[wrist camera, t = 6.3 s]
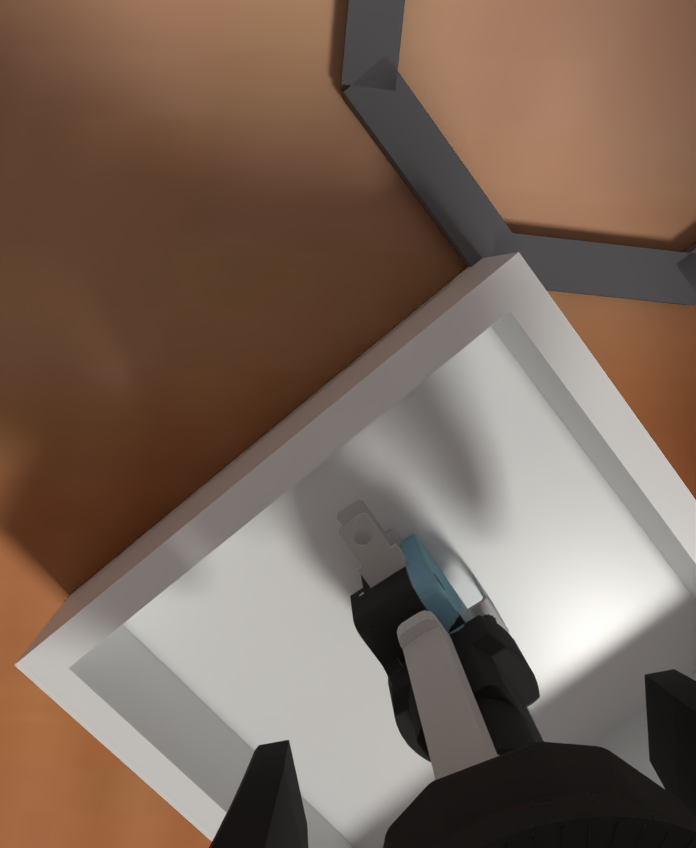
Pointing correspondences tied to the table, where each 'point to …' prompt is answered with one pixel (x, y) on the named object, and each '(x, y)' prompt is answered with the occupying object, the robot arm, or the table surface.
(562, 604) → the tray
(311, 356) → the table surface
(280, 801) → the robot arm
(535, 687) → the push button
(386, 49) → the seat ring
